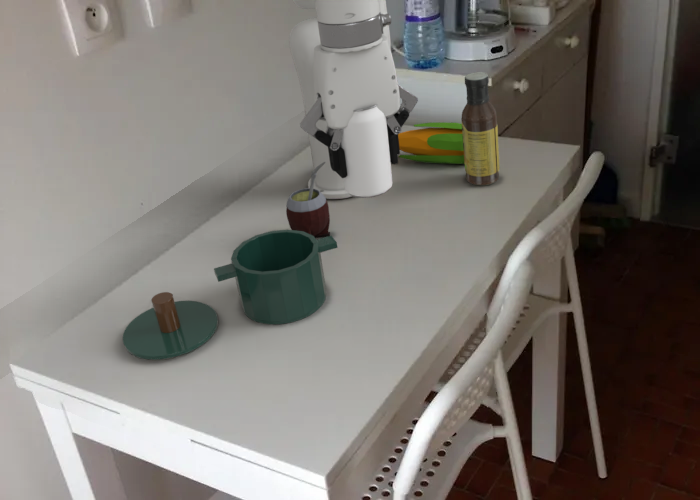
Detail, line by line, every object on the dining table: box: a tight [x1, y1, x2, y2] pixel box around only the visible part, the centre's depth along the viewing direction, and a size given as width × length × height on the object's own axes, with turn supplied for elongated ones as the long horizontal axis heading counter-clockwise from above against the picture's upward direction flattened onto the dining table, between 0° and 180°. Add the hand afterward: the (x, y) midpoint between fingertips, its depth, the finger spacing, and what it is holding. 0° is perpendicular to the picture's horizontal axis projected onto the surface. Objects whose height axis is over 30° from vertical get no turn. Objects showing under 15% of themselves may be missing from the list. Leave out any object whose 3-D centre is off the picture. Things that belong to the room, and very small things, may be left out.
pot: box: [213, 229, 338, 325], centre depth 118 cm, size 13×18×8 cm
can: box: [340, 105, 393, 199], centre depth 104 cm, size 6×6×12 cm
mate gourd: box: [285, 162, 331, 239], centre depth 132 cm, size 8×8×15 cm
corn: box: [398, 121, 465, 165], centre depth 156 cm, size 7×8×20 cm
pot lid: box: [122, 291, 219, 361], centre depth 114 cm, size 14×14×6 cm
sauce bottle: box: [461, 71, 501, 186], centre depth 143 cm, size 6×6×20 cm
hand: (366, 166), depth 106 cm, fingers closed on can, 6 cm apart
